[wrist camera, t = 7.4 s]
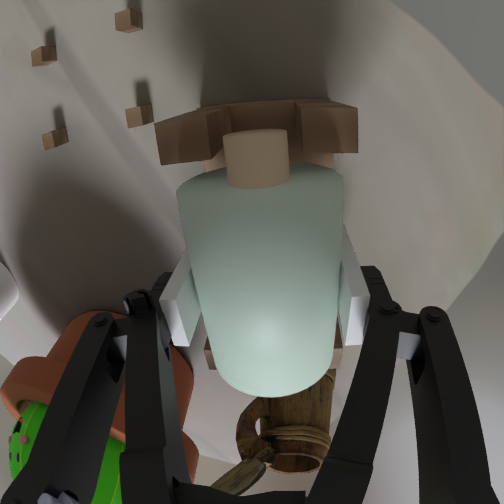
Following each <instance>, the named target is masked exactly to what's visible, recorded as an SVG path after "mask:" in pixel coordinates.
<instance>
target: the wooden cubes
mask: <svg viewBox="0 0 504 504" xmlns="http://www.w3.org/2000/svg"><path fill="white" fill-rule="evenodd" d="M115 25H116V30H118V31H122V32H126V33H130V32H134V31H137V30H140V29H143V28H142V16H141V13H140V12H137V11H135V10H132V9H127V10H124V11H121V12H118V13H115ZM31 56H32V66H45V65H49V64H51V63H53V62H55V61H57V59H56V47H51V46H41V47H39V48H37V49H35V50H33V51H32V52H31ZM125 113H126V119H127V125H128V128H132V127H137V126H142V125H145V124H148V123H151V122H154V120H153V114H152V107H151V104H148V105H143V106H138V107H134V108H130V109H126V110H125ZM42 138H43V143H44V148H45V150H48V149H51V148H54V147H57V146H59V145H62V144H64V143H67V142H68V137H67V132H66V127H63V128H60V129H57V130H54V131H51V132H48V133H45V134H42Z"/></svg>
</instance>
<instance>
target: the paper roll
mask: <svg viewBox="0 0 504 504" xmlns="http://www.w3.org/2000/svg"><path fill="white" fill-rule="evenodd" d="M223 145H224V153H225V161H226V167H223V168H219V169H215V170H212V171H208V172H205V173H203V174H200V175H198V176H195V177H193V178H191V179H189V180H188V181H186V182H185V183H183V184H182V185H181V186H180V187H179V188H178V190H177V192H176V196H177V201H178V206H179V212H180V217H181V222H182V227H183V231H184V236H185V241H186V246H187V250H188V255H189V260H190V264H191V269H192V273H193V278H194V282H195V286H196V290H197V295H198V299H199V303H200V307H201V311H202V315H203V319H204V323H205V327H206V331H207V335H208V339H209V343H210V346H211V350H212V354H213V358H214V361H215V365H216V368H217V370H218V372H219V374H220V375H221V377H222V378H223V379H224V380H225V381H226V382H227V383H228V384H230V385H231V386H232V387H234V388H236V389H237V390H239V391H242V392H244V393H246V394H250V395H254V396H260V397H282V396H287V395H291V394H295V393H298V392H300V391H302V390H305V389H307V388H308V387H310V386H312V385H313V384H315V383H316V382H317V381H318V380H319V379H320V378H321V377H322V376H323V375H324V374H325V373H326V371H327V370H328V368H329V366H330V364H331V361H332V358H333V349H334V340H335V331H336V321H337V309H338V297H339V284H340V268H341V249H342V221H343V178H342V176H341V175H340V174H339V173H338V172H336V171H335V170H333V169H331V168H328V167H325V166H321V165H317V164H312V163H306V162H296V161H289V154H288V140H287V131H286V130H283V129H256V130H247V131H240V132H234V133H230V134H226V135H224V136H223Z"/></svg>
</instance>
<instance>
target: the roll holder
mask: <svg viewBox="0 0 504 504" xmlns="http://www.w3.org/2000/svg"><path fill="white" fill-rule="evenodd" d="M154 126H155V133H156V139H157V145H158V151H159V157H160V163H161V165H169V164H177V163H185V162H194V161H203V160H204V167H205V172H208V171H212V170H215V169H219V168H223V167H226V161H225V153H224V145H223V136H224V135H226V134H230V133H234V132H240V131H247V130H256V129H283V130H286V131H287V140H288V154H289V161H296V162H306V163H312V164H317V165H321V166H325V167H328V168H331V169H333V153H358V109H357V108H356V107H352V106H349V105H345V104H341V103H337V102H334V101H331V99H285V100H267V101H254V102H242V103H232V104H223V105H215V106H207V107H200V108H197V110H195V111H192V112H188V113H185V114H182V115H179V116H175V117H172V118H169V119H166V120H163V121H160V122H157V123H154ZM342 351H343V346H342V340H341V334H340V329H339V323H338V318H337V321H336V331H335V340H334V349H333V358H332V361H331V364H330V366H329V368H328V369H335V368H340V363H341V357H342ZM204 353H205V356H206V360H207V363H208V366H209V369H212V370H217V368H216V365H215V361H214V358H213V354H212V350H211V346H210V343H209V339H208V336H207V340H206V344H205V347H204Z"/></svg>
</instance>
